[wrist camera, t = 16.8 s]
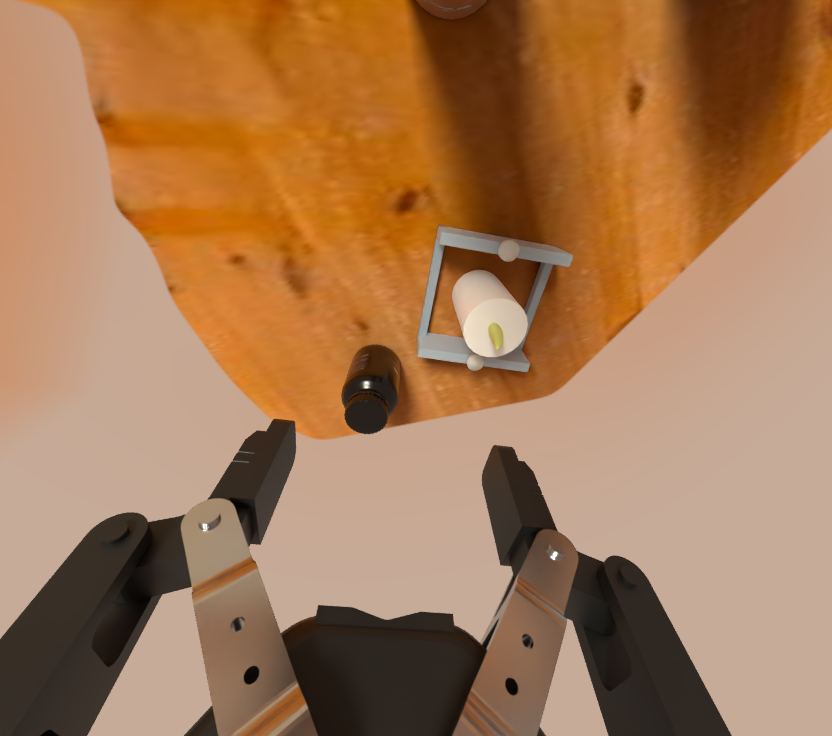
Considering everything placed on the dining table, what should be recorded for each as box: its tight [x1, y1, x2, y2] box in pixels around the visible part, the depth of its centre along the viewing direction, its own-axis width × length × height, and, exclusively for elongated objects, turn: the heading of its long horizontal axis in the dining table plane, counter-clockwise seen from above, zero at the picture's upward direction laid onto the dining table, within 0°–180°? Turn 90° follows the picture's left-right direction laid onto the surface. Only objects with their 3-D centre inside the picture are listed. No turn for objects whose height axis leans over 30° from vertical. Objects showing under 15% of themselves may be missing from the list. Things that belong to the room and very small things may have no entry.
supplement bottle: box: [341, 345, 400, 434], centre depth 41 cm, size 7×7×12 cm
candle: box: [452, 270, 528, 357], centre depth 35 cm, size 6×6×15 cm
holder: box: [417, 225, 574, 372], centre depth 39 cm, size 15×14×6 cm
